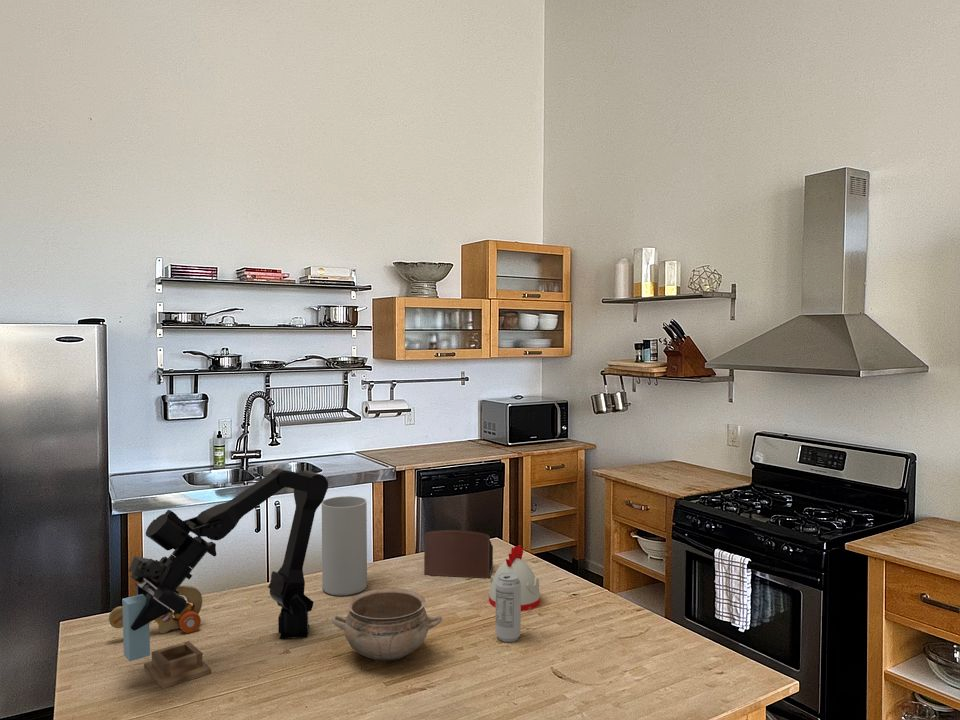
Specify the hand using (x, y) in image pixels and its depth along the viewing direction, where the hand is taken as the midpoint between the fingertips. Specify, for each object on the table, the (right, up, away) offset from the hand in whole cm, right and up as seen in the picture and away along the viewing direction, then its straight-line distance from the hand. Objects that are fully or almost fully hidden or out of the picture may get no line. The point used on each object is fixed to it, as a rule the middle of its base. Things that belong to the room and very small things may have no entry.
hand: (129, 626), depth 148 cm
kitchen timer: (+82, -11, +46) cm, 95 cm away
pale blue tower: (+1, -7, +1) cm, 7 cm away
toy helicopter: (-5, -12, +26) cm, 29 cm away
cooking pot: (+52, -12, +14) cm, 55 cm away
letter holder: (+67, -10, +69) cm, 97 cm away
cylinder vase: (+34, -10, +55) cm, 66 cm away
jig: (+7, -12, +7) cm, 16 cm away
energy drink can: (+80, -12, +24) cm, 84 cm away
